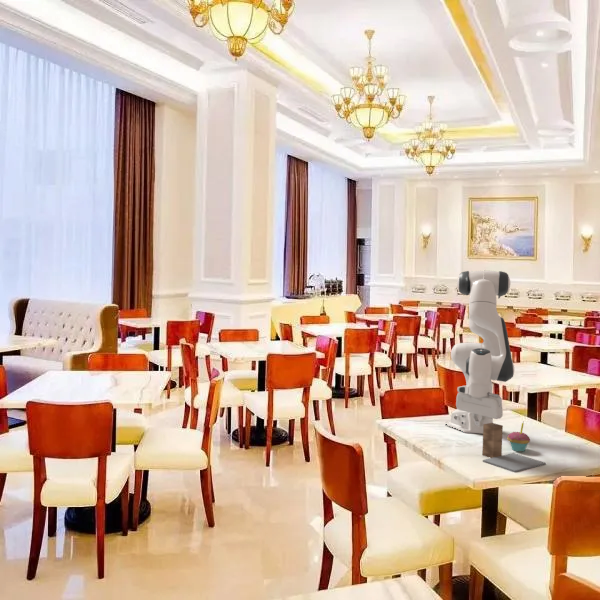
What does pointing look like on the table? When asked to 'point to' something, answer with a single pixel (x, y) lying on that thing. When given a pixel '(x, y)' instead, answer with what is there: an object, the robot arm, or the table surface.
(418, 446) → the table surface
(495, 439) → the walnut block
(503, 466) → the mat
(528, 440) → the cupcake
